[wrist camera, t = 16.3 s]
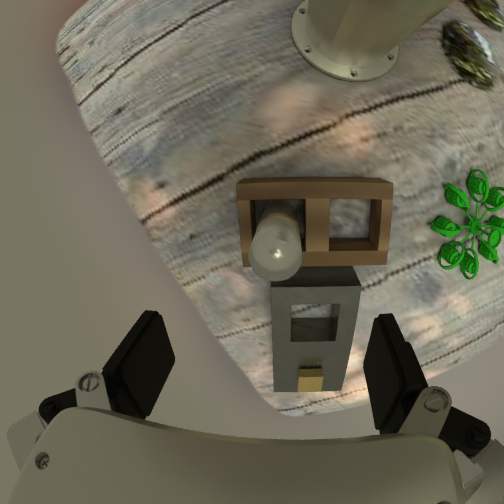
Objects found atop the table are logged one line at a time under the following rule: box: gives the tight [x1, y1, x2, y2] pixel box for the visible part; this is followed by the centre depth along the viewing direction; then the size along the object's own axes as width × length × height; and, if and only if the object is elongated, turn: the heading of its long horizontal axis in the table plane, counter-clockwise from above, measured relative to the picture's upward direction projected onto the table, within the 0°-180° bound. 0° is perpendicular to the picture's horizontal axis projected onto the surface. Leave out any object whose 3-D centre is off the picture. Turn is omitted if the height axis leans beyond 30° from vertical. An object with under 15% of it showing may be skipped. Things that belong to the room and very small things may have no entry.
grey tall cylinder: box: [249, 199, 302, 281], centre depth 26 cm, size 4×4×12 cm
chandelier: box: [431, 169, 504, 280], centre depth 25 cm, size 15×15×7 cm
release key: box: [298, 369, 323, 392], centre depth 35 cm, size 3×3×6 cm
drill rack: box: [236, 177, 393, 267], centre depth 29 cm, size 9×16×4 cm, turn 94°
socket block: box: [271, 266, 361, 392], centre depth 34 cm, size 18×10×5 cm, turn 4°
